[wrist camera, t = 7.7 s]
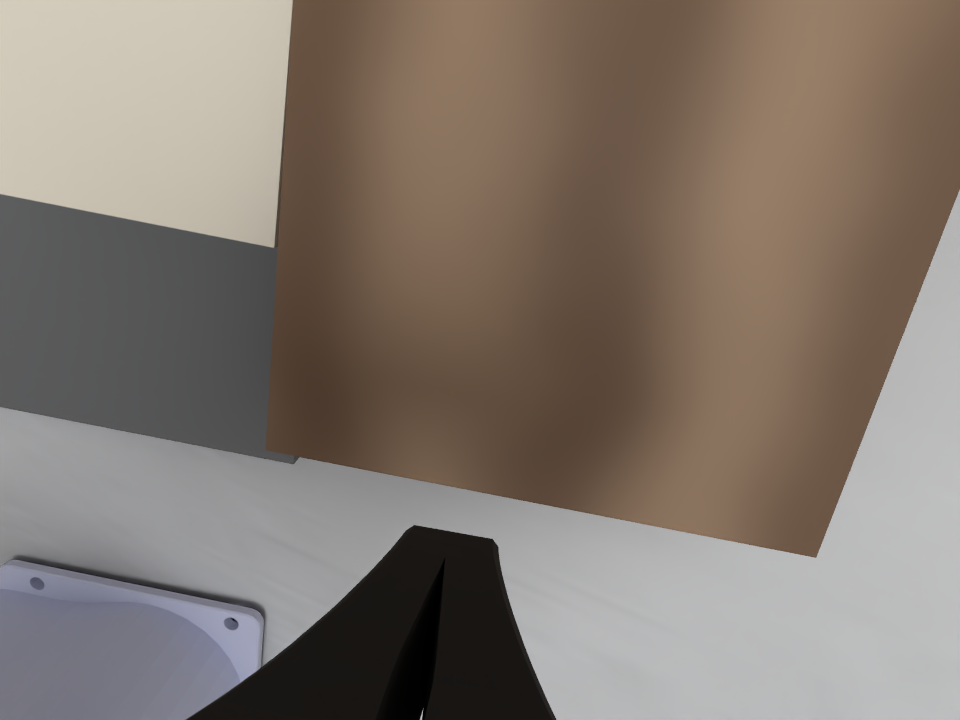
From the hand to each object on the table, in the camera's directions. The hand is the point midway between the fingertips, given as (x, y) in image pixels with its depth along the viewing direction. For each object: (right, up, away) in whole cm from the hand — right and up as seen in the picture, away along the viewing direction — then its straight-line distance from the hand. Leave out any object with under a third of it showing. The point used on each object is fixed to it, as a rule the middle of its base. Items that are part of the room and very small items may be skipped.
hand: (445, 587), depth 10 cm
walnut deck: (+4, +8, +7) cm, 12 cm away
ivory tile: (-8, +10, +7) cm, 15 cm away
